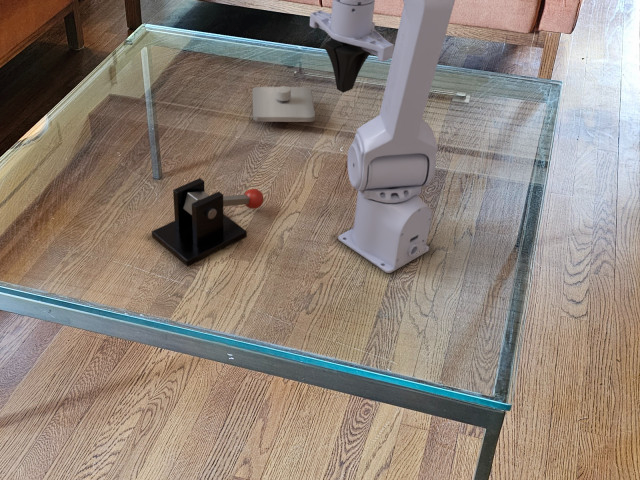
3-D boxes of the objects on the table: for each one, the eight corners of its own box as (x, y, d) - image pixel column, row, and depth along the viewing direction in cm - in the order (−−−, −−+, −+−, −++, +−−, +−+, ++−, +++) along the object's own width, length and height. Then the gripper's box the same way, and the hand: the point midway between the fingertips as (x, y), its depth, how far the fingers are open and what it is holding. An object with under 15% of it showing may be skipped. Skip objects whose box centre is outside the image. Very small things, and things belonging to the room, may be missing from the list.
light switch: (314, 132, 133) (317, 103, 130) (252, 132, 133) (253, 103, 130) (310, 102, 141) (312, 74, 137) (251, 101, 141) (252, 74, 137)
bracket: (210, 209, 118) (209, 165, 113) (246, 237, 113) (247, 192, 108) (151, 237, 113) (148, 192, 108) (187, 266, 108) (185, 221, 103)
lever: (251, 202, 118) (256, 184, 117) (264, 211, 117) (269, 193, 115) (181, 209, 110) (186, 189, 108) (194, 219, 108) (199, 199, 107)
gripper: (414, 7, 111) (400, 99, 120) (337, -26, 119) (330, 63, 129) (377, 20, 108) (365, 115, 117) (301, -14, 116) (296, 76, 125)
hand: (344, 89), depth 122 cm, fingers closed
